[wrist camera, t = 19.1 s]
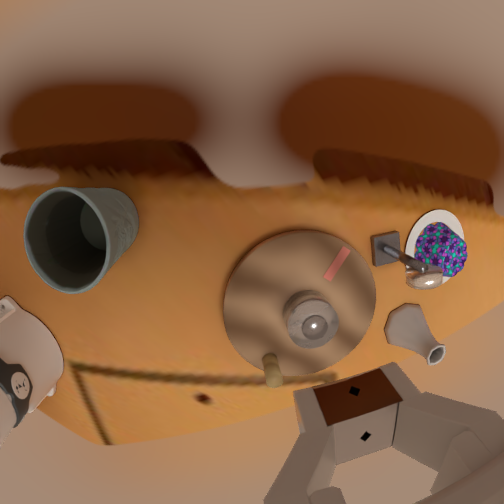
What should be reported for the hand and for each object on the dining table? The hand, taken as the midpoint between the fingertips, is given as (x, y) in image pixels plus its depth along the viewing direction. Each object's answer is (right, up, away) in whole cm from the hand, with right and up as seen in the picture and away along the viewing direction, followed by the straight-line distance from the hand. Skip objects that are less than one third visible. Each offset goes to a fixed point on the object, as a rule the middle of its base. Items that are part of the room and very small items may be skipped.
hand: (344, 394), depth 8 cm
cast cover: (+4, -4, +31) cm, 31 cm away
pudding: (+25, +5, +34) cm, 42 cm away
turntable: (+4, -3, +33) cm, 34 cm away
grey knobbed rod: (+15, +5, +32) cm, 36 cm away
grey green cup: (-21, +8, +29) cm, 36 cm away
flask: (+21, -7, +36) cm, 42 cm away
